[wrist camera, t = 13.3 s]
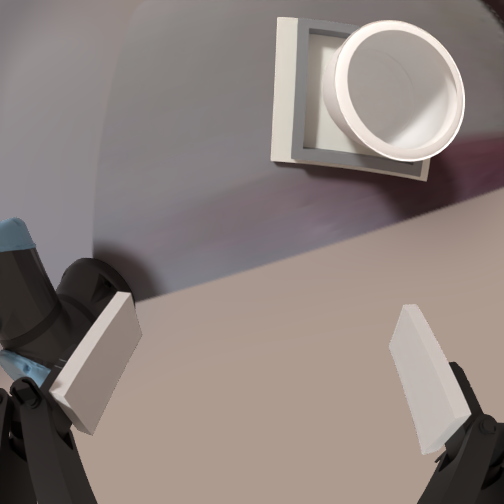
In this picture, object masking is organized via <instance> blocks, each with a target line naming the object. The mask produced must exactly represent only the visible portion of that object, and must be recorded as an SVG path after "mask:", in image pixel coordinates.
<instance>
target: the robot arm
mask: <svg viewBox="0 0 504 504" xmlns="http://www.w3.org/2000/svg"><path fill="white" fill-rule="evenodd" d="M141 336H142V333H141V330H140V326H139V322H138V319H137V315H136V311H135V301H134V298H133V295H132V292H131V290H130V288H129V287H128V285H127V284H126V282H125V281H124V279H123V278H122V277H121V276H120V275H119V274H118V273H117V272H116V271H115V270H114V269H113V268H111V267H110V266H108V265H107V264H105V263H103V262H101V261H99V260H96V259H93V258H81V259H78V260H76V261H75V262H74V263H72V264H71V265H70V266H69V267H68V268H67V269H66V270H65V272H64V274H63V276H62V279H61V282H60V284H59V285H58V287H57V289H56V291H55V290H54V288H53V286H52V284H51V282H50V280H49V277H48V275H47V273H46V271H45V269H44V267H43V264H42V262H41V260H40V258H39V255H38V252H37V250H36V244H35V243H34V242H33V240H32V238H31V236H30V233H29V231H28V229H27V226H26V224H25V223H24V221H22V220H21V219H20V218H15V217H14V218H9V219H6V220H4V221H0V343H1V345H2V347H3V350H1V351H0V364H1V366H2V368H3V369H4V371H5V372H6V373H7V374H8V375H9V376H10V377H11V378H12V379H13V380H14V382H13V384H12V386H11V387H10V394H11V395H12V396H9V395H8V393H7V392H6V391H5V390H4V389H3V388H0V504H37V502H38V504H97V501H96V499H95V496H94V494H93V492H92V489H91V487H90V484H89V482H88V479H87V476H86V474H85V471H84V468H83V465H82V462H81V459H80V456H79V453H78V451H77V447H76V444H75V440H74V437H73V434H72V431H71V430H70V427H71V425H72V423H73V425H74V426H75V427H76V428H77V430H79V431H81V432H84V433H87V434H89V435H93V434H94V431H95V429H96V427H97V425H98V423H99V420H100V418H101V416H102V414H103V412H104V410H105V408H106V406H107V404H108V401H109V399H110V397H111V395H112V393H113V391H114V389H115V387H116V385H117V383H118V381H119V379H120V377H121V375H122V373H123V371H124V369H125V367H126V365H127V363H128V361H129V359H130V357H131V355H132V353H133V351H134V350H135V348H136V346H137V344H138V342H139V340H140V338H141ZM389 349H390V352H391V354H392V357H393V360H394V362H395V366H396V368H397V371H398V374H399V377H400V380H401V383H402V386H403V389H404V392H405V396H406V399H407V402H408V405H409V408H410V412H411V415H412V418H413V422H414V425H415V429H416V433H417V436H418V440H419V444H420V448H421V451H422V455H423V454H428V453H432V452H435V451H438V450H439V449H440V448H441V447H442V446H443V445H444V444H445V447H446V451H445V452H444V453H442V454H441V455H440V456H439V457H438V458H437V460H436V461H435V462H436V463H437V462H438V461H439V460H440V462H439V464H438V466H437V468H436V470H435V472H434V474H433V476H432V478H431V479H430V482H429V483H428V485H427V487H426V489H425V491H424V492H423V494H422V496H421V498H420V499H419V501H418V503H417V504H504V423H497V422H496V420H495V419H494V418H493V417H492V416H490V415H487V414H484V413H483V411H482V409H481V407H480V405H479V402H478V401H477V399H476V396H475V394H474V392H473V390H472V388H471V387H470V383H469V381H468V380H467V377H466V375H465V373H464V371H463V369H462V368H461V367H460V366H458V364H457V363H456V362H449V363H448V361H447V359H446V357H445V355H444V353H443V351H442V349H441V347H440V345H439V343H438V342H437V340H436V338H435V336H434V334H433V332H432V330H431V329H430V327H429V325H428V323H427V321H426V320H425V318H424V316H423V314H422V312H421V311H420V309H419V308H418V306H417V305H416V304H411V305H403V308H402V311H401V314H400V317H399V320H398V322H397V326H396V328H395V331H394V334H393V336H392V339H391V342H390V344H389ZM9 432H10V436H9Z"/></svg>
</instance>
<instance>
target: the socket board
mask: <svg viewBox="0 0 504 504" xmlns="http://www.w3.org/2000/svg"><path fill="white" fill-rule="evenodd" d="M359 28H361V26H356V25H351V24H345V23H339V22H332V21H325V20H316V19H307V18H286V17H277V40H276V64H275V86H274V107H273V127H272V146H271V161H280V162H292V163H303V164H313V165H322V166H331V167H339V168H347V169H355V170H362V171H369V172H375V173H382V174H388V175H394V176H400V177H405V178H411V179H416V180H421V181H426V182H427V177H428V171H429V165H430V158H431V157H430V158H427V159H424V160H420V161H399V160H395V159H391V158H388V157H386V156H383V155H381V154H379V153H377V152H376V151H374V150H373V149H371V148H368V147H366V146H363V145H361V144H359V143H357V142H355V141H354V140H352V139H351V138H349V137H348V136H347V135H346V134H344V133H343V132H342V131H341V130H340V129H339V128H338V126H337V125H336V124H335V123H334V121H333V120H332V118H331V117H330V115H329V113H328V111H327V108H326V106H325V102H324V98H323V91H322V83H323V76H324V72H325V69H326V66H327V64H328V62H329V60H330V58H331V57H332V55H333V54H334V53H335V52H336V51H337V49H338V48H339V47H341V46H342V45H343V43H344V42H345V41H346V39H347V38H348V37H349V36H350V35H351V34H352V33H353V32H355V31H356V30H358V29H359Z"/></svg>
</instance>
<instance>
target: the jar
mask: <svg viewBox="0 0 504 504" xmlns="http://www.w3.org/2000/svg"><path fill="white" fill-rule="evenodd" d="M322 91H323V98H324V102H325V106H326V108H327V111H328V113H329V115H330V117H331V118H332V120H333V121H334V123H335V124H336V125H337V126H338V128H339V129H340V130H341V131H342V132H343V133H344V134H346V135H347V136H348V137H349V138H351V139H352V140H354V141H355V142H357V143H359V144H361V145H363V146H366V147H368V148H371V149H373V150H374V151H376V152H377V153H379V154H381V155H383V156H386V157H388V158H391V159H395V160H399V161H420V160H424V159H427V158H430V157H432V156H434V155H436V154H438V153H439V152H441V151H442V150H444V149H445V148H446V147H447V146H448V145H449V144H450V143H451V141H452V140H453V139H454V137H455V136H456V134H457V132H458V130H459V128H460V126H461V123H462V119H463V115H464V108H465V94H464V87H463V83H462V79H461V76H460V73H459V70H458V68H457V66H456V64H455V62H454V60H453V59H452V57H451V56H450V54H449V53H448V51H447V50H446V49H445V48H444V47H443V45H442V44H441V43H440V42H439V41H438V40H436V39H435V38H434V37H433V36H432V35H430V34H429V33H427V32H426V31H424V30H423V29H421V28H419V27H417V26H414V25H412V24H409V23H406V22H401V21H395V20H382V21H376V22H372V23H369V24H367V25H365V26H363V27H361V28H359V29H358V30H356V31H355V32H353V33H352V34H351V35H350V36H349V37H348V38H347V39H346V41H345V42H344V43H343V45H342V46H341V47H339V48H338V49H337V51H336V52H335V53H334V54H333V55H332V57H331V58H330V60H329V62H328V64H327V66H326V69H325V72H324V76H323V83H322Z"/></svg>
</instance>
